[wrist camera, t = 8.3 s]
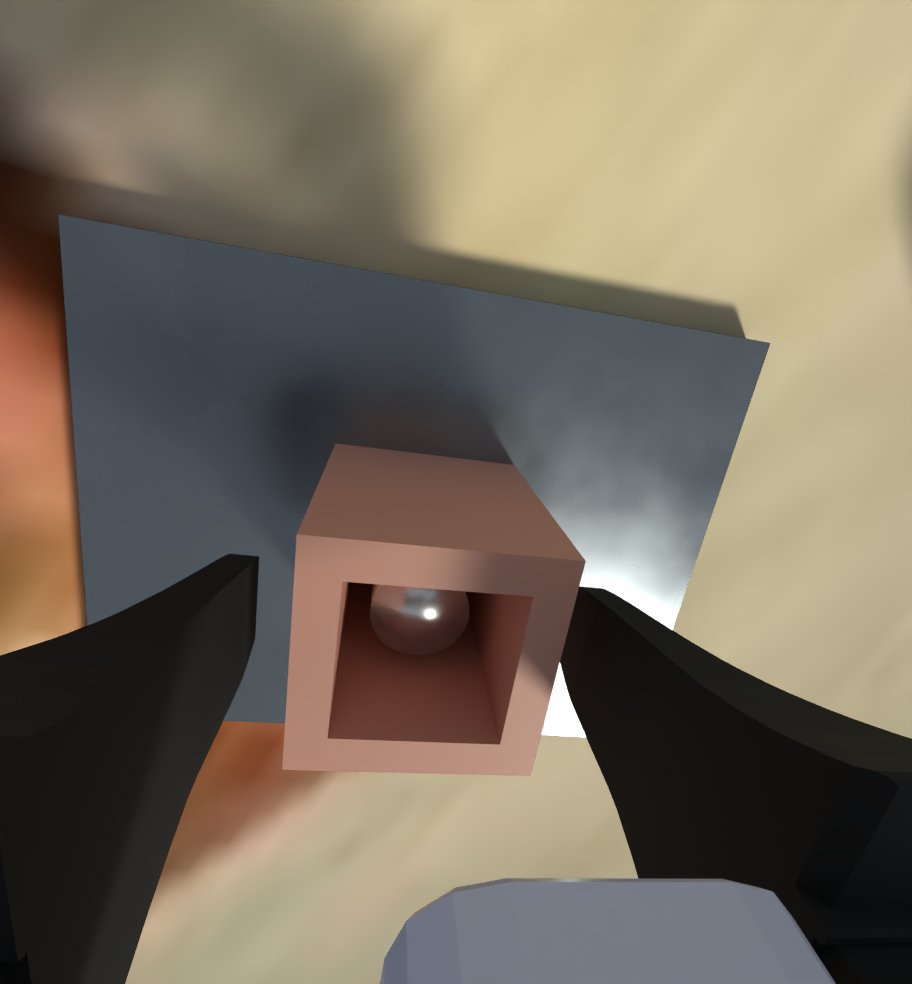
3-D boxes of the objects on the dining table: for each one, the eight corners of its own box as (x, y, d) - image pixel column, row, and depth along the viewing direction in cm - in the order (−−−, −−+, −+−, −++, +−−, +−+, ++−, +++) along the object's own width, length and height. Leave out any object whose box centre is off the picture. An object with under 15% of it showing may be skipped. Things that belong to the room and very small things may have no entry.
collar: (322, 604, 16) (282, 769, 10) (335, 443, 14) (296, 534, 9) (484, 615, 17) (530, 776, 11) (514, 464, 15) (585, 561, 9)
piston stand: (110, 692, 17) (2, 837, 12) (83, 220, 13) (-99, 172, 8) (623, 719, 20) (693, 846, 15) (747, 340, 16) (899, 356, 11)
